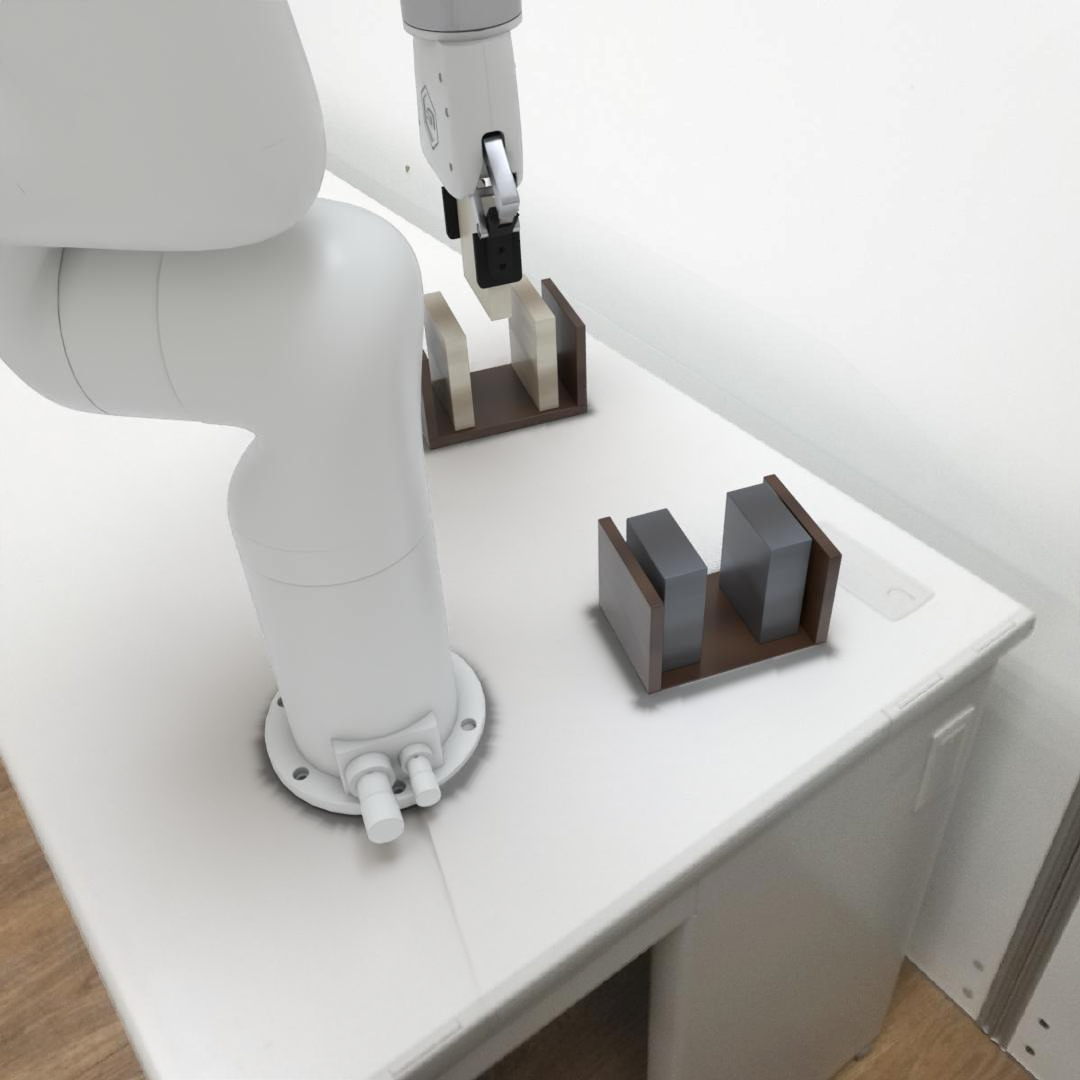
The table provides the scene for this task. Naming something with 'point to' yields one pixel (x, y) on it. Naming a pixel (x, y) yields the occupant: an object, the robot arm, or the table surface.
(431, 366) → the brown book rack
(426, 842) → the table surface
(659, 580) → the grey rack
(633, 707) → the table surface
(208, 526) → the table surface
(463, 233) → the white book
